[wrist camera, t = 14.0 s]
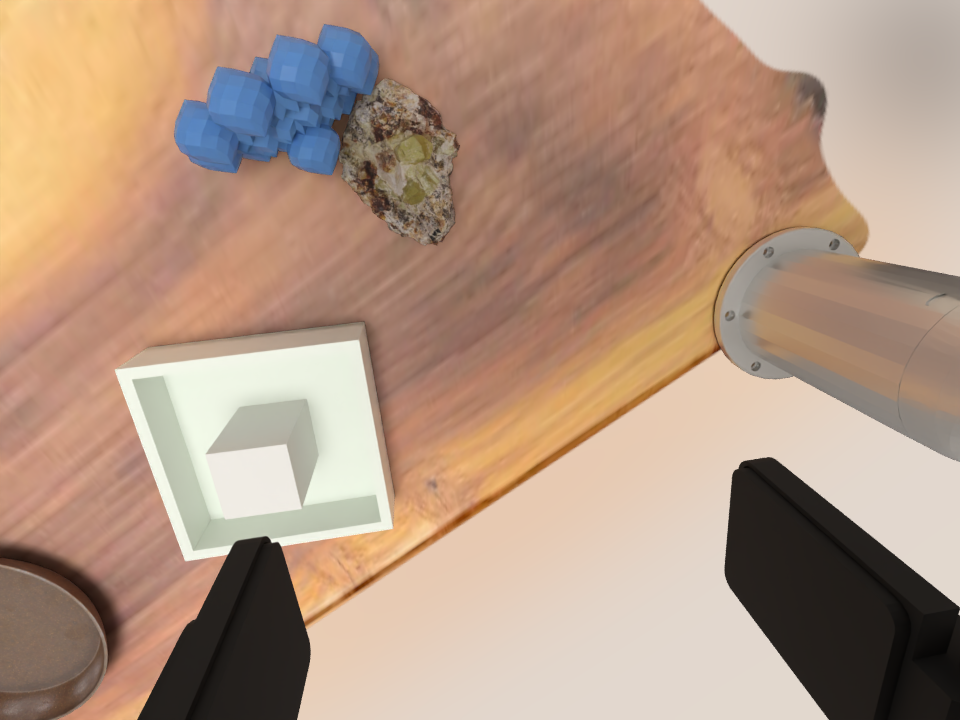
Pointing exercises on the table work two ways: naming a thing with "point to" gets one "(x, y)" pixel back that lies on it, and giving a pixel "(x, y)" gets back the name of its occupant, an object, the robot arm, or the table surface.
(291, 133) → the blue knobby lump
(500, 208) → the table surface
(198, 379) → the sage bin
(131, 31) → the table surface
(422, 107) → the mineral rock
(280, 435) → the stone block
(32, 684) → the plant saucer
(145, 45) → the table surface
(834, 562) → the robot arm
